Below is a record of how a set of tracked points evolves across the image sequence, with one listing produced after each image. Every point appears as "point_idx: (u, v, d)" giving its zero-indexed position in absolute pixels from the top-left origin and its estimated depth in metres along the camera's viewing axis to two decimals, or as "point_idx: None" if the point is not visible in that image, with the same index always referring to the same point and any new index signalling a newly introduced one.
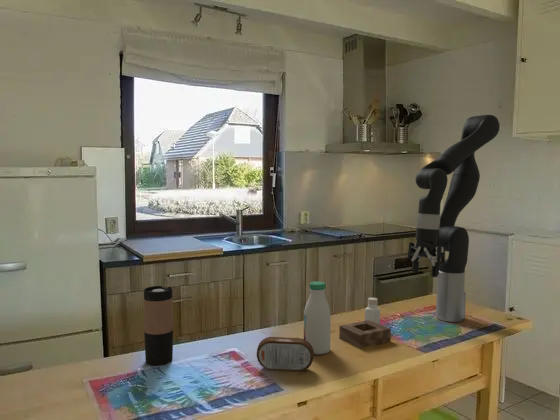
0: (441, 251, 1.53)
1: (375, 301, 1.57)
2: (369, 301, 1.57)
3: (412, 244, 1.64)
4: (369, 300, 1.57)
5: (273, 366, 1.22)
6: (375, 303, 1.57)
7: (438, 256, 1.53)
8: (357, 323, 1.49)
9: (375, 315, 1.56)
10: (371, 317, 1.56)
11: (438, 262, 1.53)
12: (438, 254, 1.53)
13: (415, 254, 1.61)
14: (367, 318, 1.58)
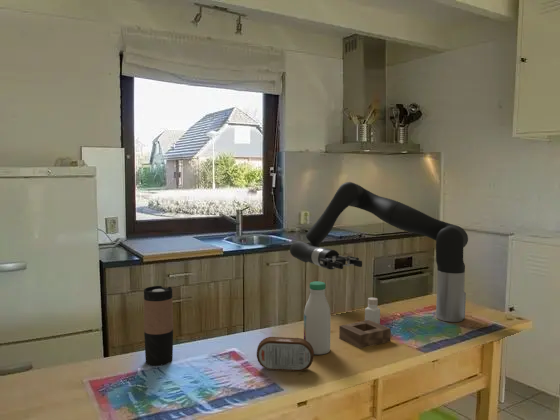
0: (321, 263, 1.71)
1: (375, 301, 1.57)
2: (369, 301, 1.57)
3: None
4: (369, 300, 1.57)
5: (273, 366, 1.22)
6: (375, 303, 1.57)
7: None
8: (357, 323, 1.49)
9: (375, 315, 1.56)
10: (371, 317, 1.56)
11: None
12: None
13: None
14: (367, 318, 1.58)
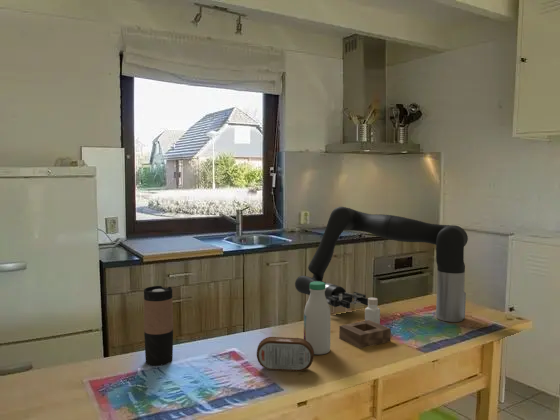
0: (328, 302, 1.69)
1: (375, 301, 1.57)
2: (369, 301, 1.57)
3: (354, 298, 1.76)
4: (369, 300, 1.57)
5: (273, 365, 1.22)
6: (375, 303, 1.57)
7: None
8: (357, 323, 1.49)
9: (375, 315, 1.56)
10: (371, 317, 1.56)
11: None
12: None
13: None
14: (367, 318, 1.58)
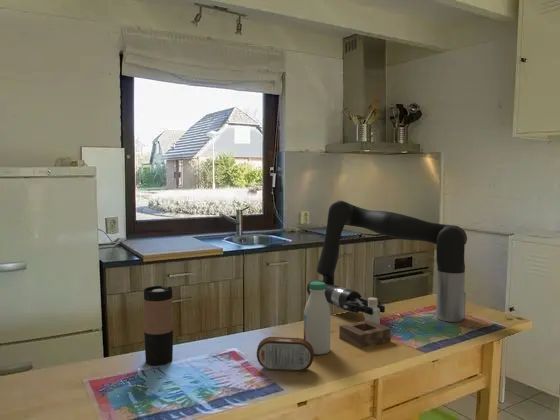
0: (346, 308, 1.60)
1: (375, 301, 1.57)
2: (369, 301, 1.57)
3: None
4: (369, 300, 1.57)
5: (273, 366, 1.22)
6: (375, 303, 1.57)
7: None
8: (357, 323, 1.49)
9: (375, 315, 1.56)
10: (371, 317, 1.56)
11: None
12: None
13: None
14: (367, 318, 1.58)
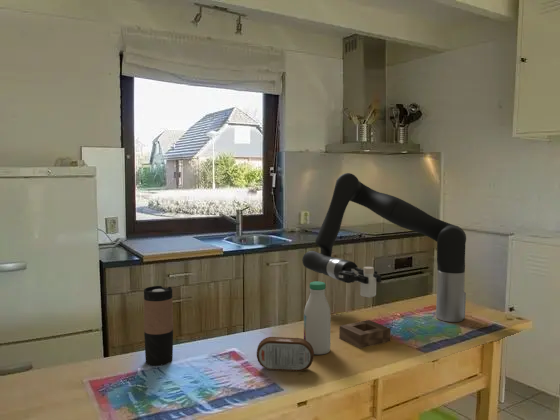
0: (341, 277, 1.54)
1: (371, 270, 1.50)
2: (365, 270, 1.51)
3: None
4: (365, 269, 1.51)
5: (273, 366, 1.22)
6: (371, 272, 1.50)
7: None
8: (357, 323, 1.49)
9: (370, 284, 1.50)
10: (367, 286, 1.50)
11: None
12: None
13: None
14: (363, 288, 1.51)
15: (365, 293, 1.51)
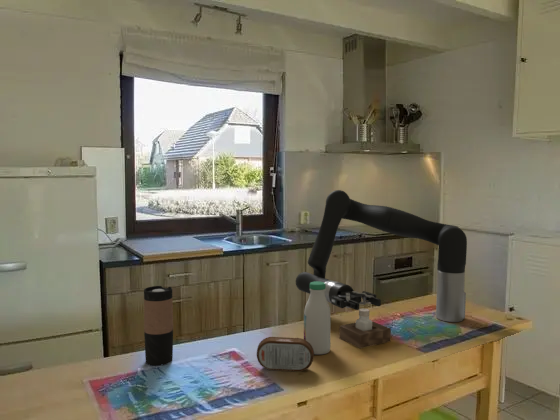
0: (333, 302, 1.47)
1: (366, 312, 1.43)
2: (360, 312, 1.44)
3: (363, 297, 1.54)
4: (360, 311, 1.44)
5: (273, 366, 1.22)
6: (366, 315, 1.44)
7: None
8: None
9: (366, 327, 1.43)
10: (362, 330, 1.43)
11: None
12: None
13: None
14: None
15: None
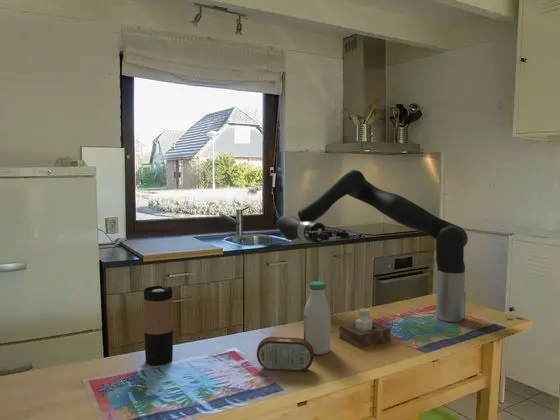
0: (306, 236, 1.65)
1: (366, 313, 1.43)
2: (360, 312, 1.44)
3: None
4: (360, 311, 1.44)
5: (273, 366, 1.22)
6: (366, 315, 1.43)
7: (310, 238, 1.64)
8: None
9: (366, 328, 1.43)
10: (362, 330, 1.43)
11: None
12: (309, 238, 1.64)
13: None
14: None
15: None
